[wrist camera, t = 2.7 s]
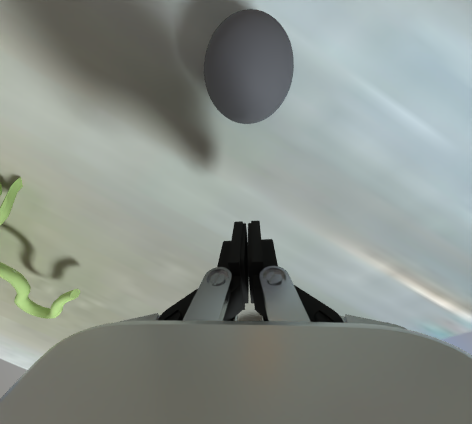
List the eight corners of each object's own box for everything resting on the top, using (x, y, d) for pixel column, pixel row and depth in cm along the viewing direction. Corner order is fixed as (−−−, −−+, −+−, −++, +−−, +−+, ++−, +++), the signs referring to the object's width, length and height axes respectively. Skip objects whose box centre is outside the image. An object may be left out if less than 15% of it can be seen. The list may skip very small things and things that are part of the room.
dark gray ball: (260, 14, 12) (264, -63, 7) (298, 92, 14) (323, 75, 9) (199, 75, 14) (169, 48, 9) (240, 137, 15) (234, 144, 10)
